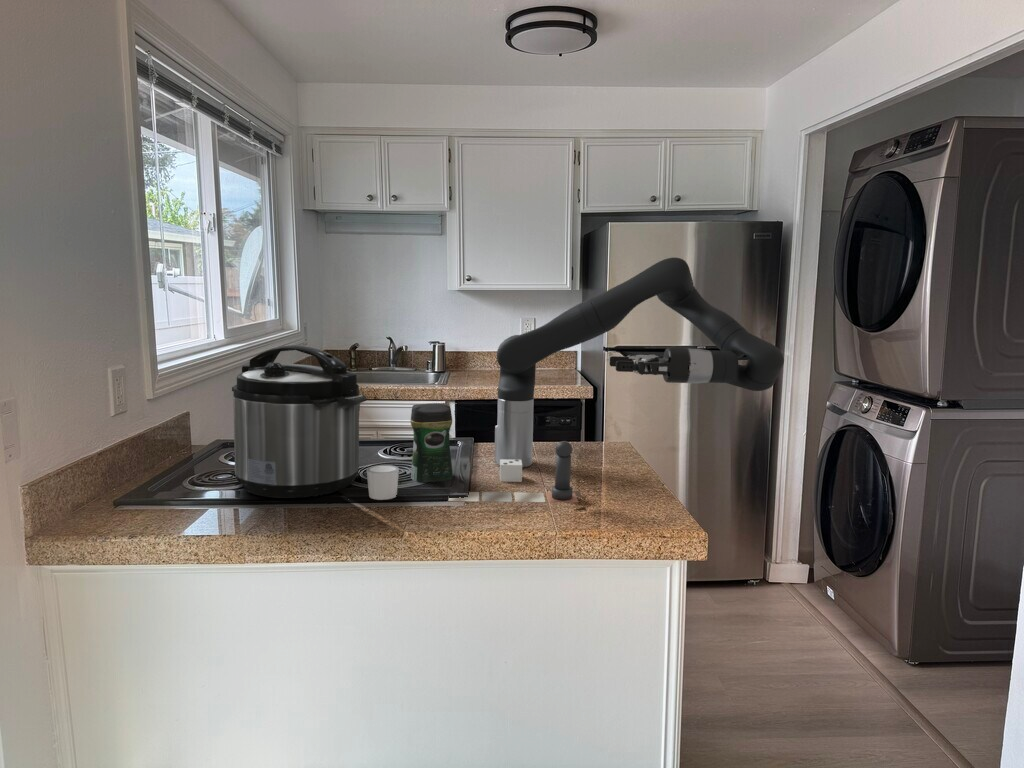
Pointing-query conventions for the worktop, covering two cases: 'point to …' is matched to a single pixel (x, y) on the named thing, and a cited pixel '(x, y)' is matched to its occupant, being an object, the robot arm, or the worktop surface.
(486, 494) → the track board
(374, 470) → the white cup
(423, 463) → the coffee jar
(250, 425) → the pressure cooker
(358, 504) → the worktop surface
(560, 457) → the pawn
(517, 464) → the die
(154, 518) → the worktop surface
